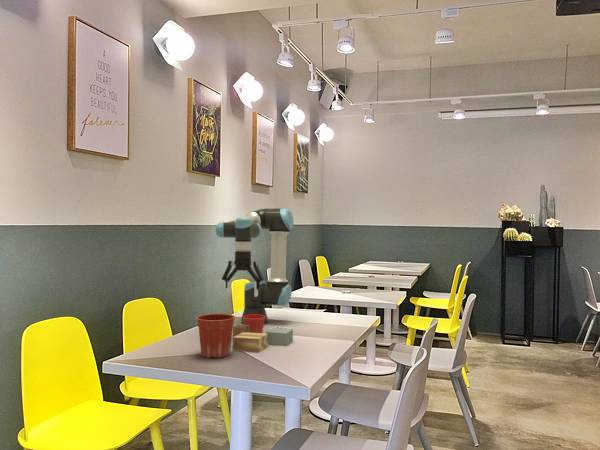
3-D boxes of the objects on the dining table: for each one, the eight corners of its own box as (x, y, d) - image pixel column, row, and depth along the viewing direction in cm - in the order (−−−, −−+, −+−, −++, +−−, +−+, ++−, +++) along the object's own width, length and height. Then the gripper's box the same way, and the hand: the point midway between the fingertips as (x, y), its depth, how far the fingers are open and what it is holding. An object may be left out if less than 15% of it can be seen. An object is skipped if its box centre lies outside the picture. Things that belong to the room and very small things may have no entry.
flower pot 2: (261, 338, 245) (261, 318, 245) (240, 337, 248) (240, 317, 248) (267, 333, 256) (267, 314, 256) (246, 332, 258) (246, 313, 258)
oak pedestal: (243, 344, 233) (243, 331, 233) (267, 346, 230) (267, 333, 230) (232, 351, 221) (232, 337, 221) (258, 353, 218) (258, 339, 218)
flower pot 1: (200, 349, 222) (201, 313, 222) (237, 350, 222) (238, 313, 222) (191, 359, 206) (191, 320, 206) (231, 360, 205) (231, 320, 205)
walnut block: (237, 338, 244) (237, 324, 244) (249, 339, 243) (249, 325, 243) (232, 341, 239) (232, 326, 239) (244, 342, 237) (244, 327, 237)
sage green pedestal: (272, 340, 243) (272, 327, 243) (292, 341, 240) (292, 329, 240) (265, 344, 233) (266, 331, 233) (286, 346, 230) (286, 333, 230)
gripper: (215, 250, 237) (214, 295, 237) (265, 251, 231) (264, 298, 231) (221, 249, 245) (221, 293, 244) (270, 250, 238) (270, 295, 238)
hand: (242, 295), depth 238 cm, fingers open, 13 cm apart
